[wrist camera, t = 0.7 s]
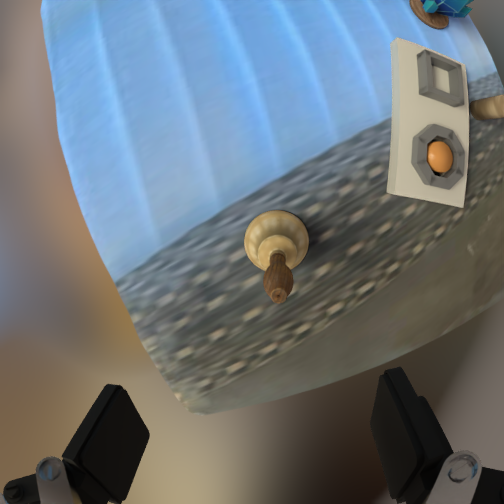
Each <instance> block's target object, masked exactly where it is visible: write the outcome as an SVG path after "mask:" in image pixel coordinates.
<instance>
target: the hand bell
mask: <svg viewBox="0 0 504 504" xmlns="http://www.w3.org/2000/svg"><path fill="white" fill-rule="evenodd" d="M244 245H245V250H246V253H247V255H248V257H249V259H250V260H251V261H252V262H253V263H254V264H255V265H256V266H257V267H259V268H260V269H262V270H264V271H265V274H264V280H263V283H264V288H265V291H266V292H267V294H268V295H269V296H270V297H271V299H272V300H273V301H274V302H275V303H282V302H284V301H285V300H286V299H287V296H288V295H289V294H290V292H291V291H292V288H293V275H292V272H291V269H293V268H294V267H296V266H297V265H298V264H299V263H300V262H301V261H302V260H303V259H304V257H305V255H306V253H307V250H308V246H309V237H308V232H307V230H306V228H305V226H304V224H303V223H302V222H301V220H300V219H299V218H297V217H296V216H295V215H293V214H291V213H289V212H286V211H280V210H273V211H268V212H265V213H262V214H260V215H259V216H257V217H256V218H255V219H254V220H253V221H252V222H251V223H250V225H249V226H248V228H247V230H246V233H245V238H244Z"/></svg>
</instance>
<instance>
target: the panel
mask: <svg viewBox="0 0 504 504" xmlns="http://www.w3.org/2000/svg"><path fill="white" fill-rule="evenodd" d="M390 48H391V66H392V130H391V149H390V162H389V174H388V184H387V193H390V194H394V195H400V196H406V197H411V198H417V199H422V200H427V201H432V202H437V203H442V204H447V205H452V206H456V207H461V208H463V206H464V198H465V190H466V180H467V168H468V151H469V105H468V89H467V77H466V68H465V65H464V64H462V63H460V62H458V61H456V60H454V59H452V58H449V57H447V56H445V55H443V54H440V53H438V52H436V51H433V50H431V49H428V48H426V47H423V46H421V45H418V44H415V43H412V42H410V41H407V40H404V39H401V38H398V37H397V38H396V39H394V40H393V41H392V42H391V43H390ZM431 140H434V141H437V142H438V141H441V142H444V143H445V144H447V145H448V146H449V148H450V150H451V152H452V156H453V162H452V166H451V168H450V169H449V170H448V171H446V172H440V176H436V175H434V173H433V171H432V170H431V168H430V166H429V165H428V163H427V161H426V159H427V144H428V143H429V142H430V141H431Z"/></svg>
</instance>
